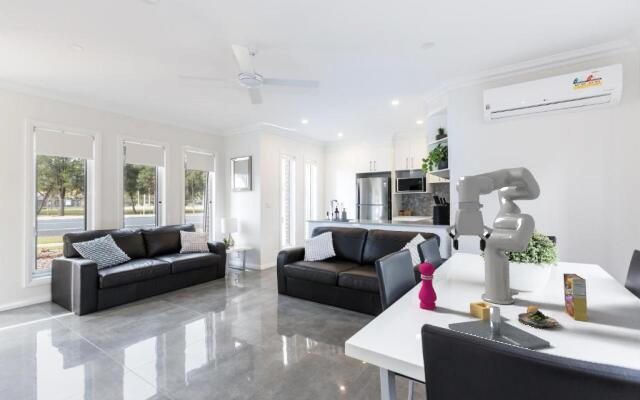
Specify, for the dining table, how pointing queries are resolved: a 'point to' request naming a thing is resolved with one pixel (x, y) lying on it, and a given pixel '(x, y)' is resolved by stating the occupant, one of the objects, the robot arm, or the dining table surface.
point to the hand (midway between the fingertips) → (469, 250)
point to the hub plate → (505, 331)
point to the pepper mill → (427, 287)
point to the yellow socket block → (480, 310)
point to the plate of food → (536, 318)
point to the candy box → (575, 297)
